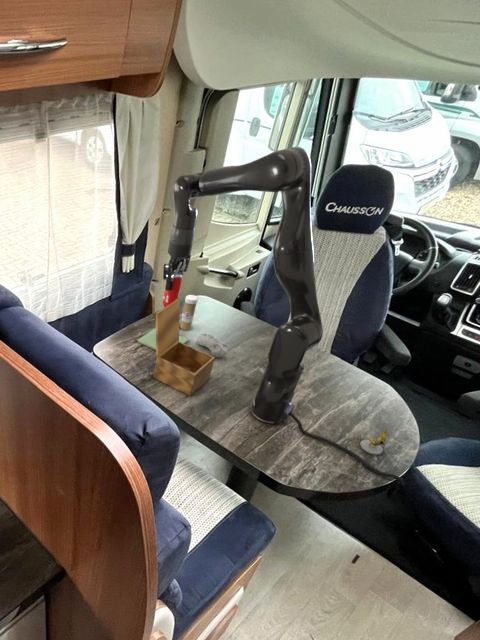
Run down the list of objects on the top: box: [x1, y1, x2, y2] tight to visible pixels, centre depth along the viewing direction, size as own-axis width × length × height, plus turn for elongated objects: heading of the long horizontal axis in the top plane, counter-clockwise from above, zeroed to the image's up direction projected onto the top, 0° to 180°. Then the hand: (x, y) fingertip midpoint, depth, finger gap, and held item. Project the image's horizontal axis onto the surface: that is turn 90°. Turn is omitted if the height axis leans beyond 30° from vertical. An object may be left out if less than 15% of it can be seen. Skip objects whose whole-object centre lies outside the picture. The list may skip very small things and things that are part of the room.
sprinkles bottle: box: [179, 294, 199, 331], centre depth 173 cm, size 5×5×14 cm
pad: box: [137, 327, 189, 351], centre depth 169 cm, size 14×14×1 cm
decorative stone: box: [195, 333, 230, 358], centre depth 163 cm, size 13×7×5 cm, turn 39°
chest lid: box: [155, 298, 181, 357], centre depth 146 cm, size 15×13×1 cm
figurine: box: [359, 427, 388, 456], centre depth 125 cm, size 6×6×8 cm
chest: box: [152, 341, 216, 396], centre depth 149 cm, size 14×13×9 cm
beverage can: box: [162, 273, 183, 308], centre depth 156 cm, size 5×5×12 cm
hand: (172, 287), depth 155 cm, fingers closed on beverage can, 5 cm apart
